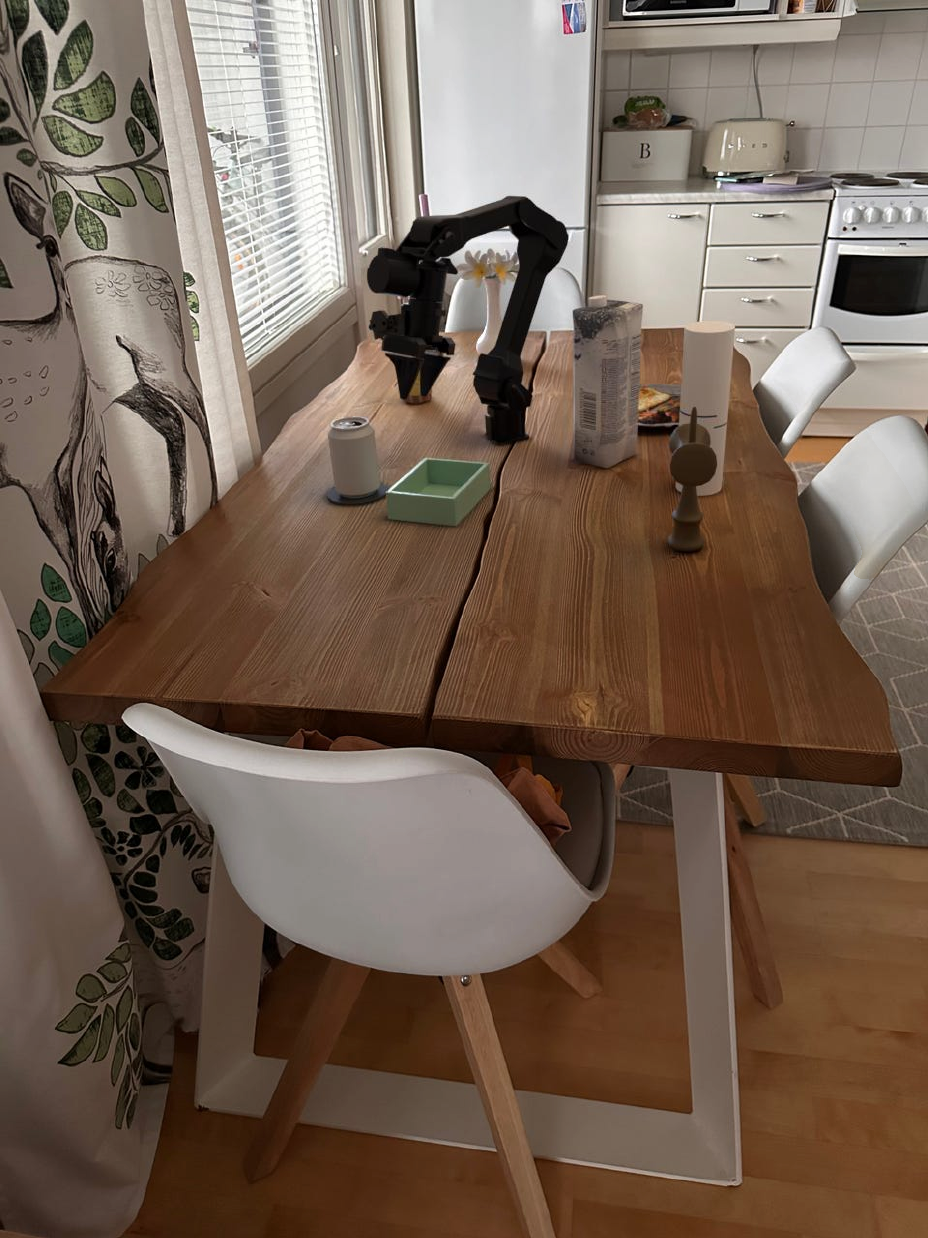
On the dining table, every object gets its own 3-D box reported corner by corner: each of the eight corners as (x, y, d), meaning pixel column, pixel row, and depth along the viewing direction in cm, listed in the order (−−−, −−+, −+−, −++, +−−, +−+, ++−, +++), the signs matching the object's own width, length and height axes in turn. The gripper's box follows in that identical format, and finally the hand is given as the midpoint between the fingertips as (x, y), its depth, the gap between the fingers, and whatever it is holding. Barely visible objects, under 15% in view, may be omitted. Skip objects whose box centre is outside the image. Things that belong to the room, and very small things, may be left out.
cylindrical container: (670, 480, 150) (678, 323, 138) (713, 476, 151) (725, 319, 138) (682, 497, 144) (692, 334, 132) (727, 493, 145) (742, 330, 132)
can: (389, 490, 153) (382, 420, 147) (351, 504, 149) (342, 432, 143) (364, 479, 158) (356, 410, 152) (327, 491, 154) (317, 421, 148)
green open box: (427, 482, 156) (425, 457, 154) (490, 488, 152) (489, 462, 150) (388, 519, 144) (385, 492, 142) (456, 526, 140) (454, 498, 138)
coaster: (377, 478, 159) (376, 476, 159) (395, 497, 151) (395, 495, 151) (320, 489, 156) (320, 487, 156) (336, 510, 148) (336, 508, 148)
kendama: (664, 561, 126) (672, 418, 116) (662, 531, 134) (669, 395, 124) (710, 562, 125) (721, 417, 115) (705, 532, 133) (715, 394, 123)
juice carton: (643, 454, 162) (650, 293, 148) (608, 472, 155) (611, 306, 142) (601, 444, 167) (604, 288, 154) (566, 461, 161) (565, 300, 147)
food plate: (659, 444, 165) (660, 425, 164) (564, 418, 181) (564, 401, 179) (741, 410, 179) (743, 392, 177) (646, 389, 195) (646, 372, 193)
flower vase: (537, 365, 216) (535, 251, 203) (458, 368, 217) (452, 255, 205) (537, 351, 227) (535, 242, 215) (462, 354, 229) (456, 246, 216)
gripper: (401, 295, 161) (391, 386, 166) (356, 290, 144) (346, 392, 149) (461, 305, 158) (449, 397, 163) (422, 300, 141) (410, 404, 146)
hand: (413, 397), depth 155 cm, fingers open, 9 cm apart
